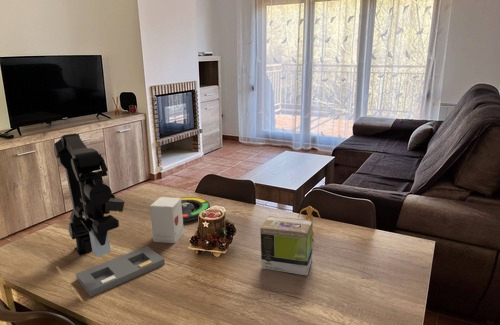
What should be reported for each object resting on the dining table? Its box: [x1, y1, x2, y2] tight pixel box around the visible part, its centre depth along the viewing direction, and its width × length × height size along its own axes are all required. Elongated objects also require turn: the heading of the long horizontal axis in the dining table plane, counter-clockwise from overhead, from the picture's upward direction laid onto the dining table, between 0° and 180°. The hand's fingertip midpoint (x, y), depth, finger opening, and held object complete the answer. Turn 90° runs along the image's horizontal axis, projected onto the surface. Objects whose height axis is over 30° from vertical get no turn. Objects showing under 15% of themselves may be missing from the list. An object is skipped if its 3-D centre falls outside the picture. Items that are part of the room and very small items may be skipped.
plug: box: [89, 231, 112, 258], centre depth 108 cm, size 4×4×8 cm
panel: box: [75, 245, 166, 298], centre depth 115 cm, size 12×24×3 cm, turn 133°
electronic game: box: [180, 196, 211, 223], centre depth 159 cm, size 23×23×5 cm
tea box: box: [259, 215, 314, 277], centre depth 115 cm, size 15×10×15 cm, turn 71°
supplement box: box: [149, 196, 185, 244], centre depth 135 cm, size 9×9×15 cm
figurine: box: [297, 205, 321, 238], centre depth 134 cm, size 8×6×12 cm
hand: (100, 242), depth 108 cm, fingers closed on plug, 4 cm apart
